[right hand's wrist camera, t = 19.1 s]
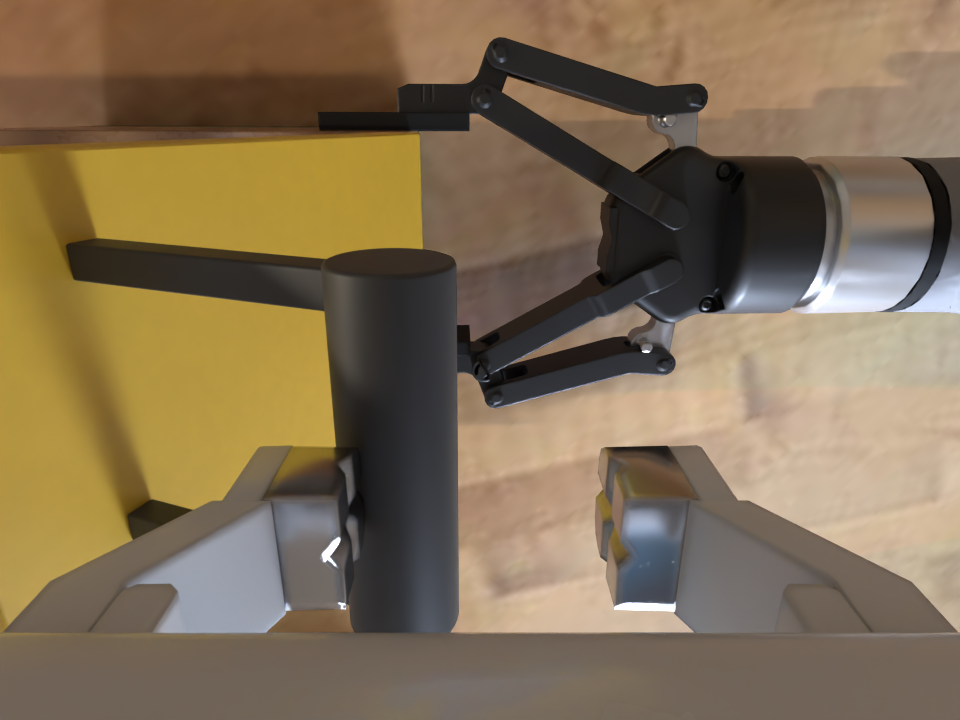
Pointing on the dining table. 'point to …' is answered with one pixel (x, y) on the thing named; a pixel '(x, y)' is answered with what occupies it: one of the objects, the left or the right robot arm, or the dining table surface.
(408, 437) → the lid
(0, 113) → the dining table surface
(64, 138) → the chest
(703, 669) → the right robot arm
